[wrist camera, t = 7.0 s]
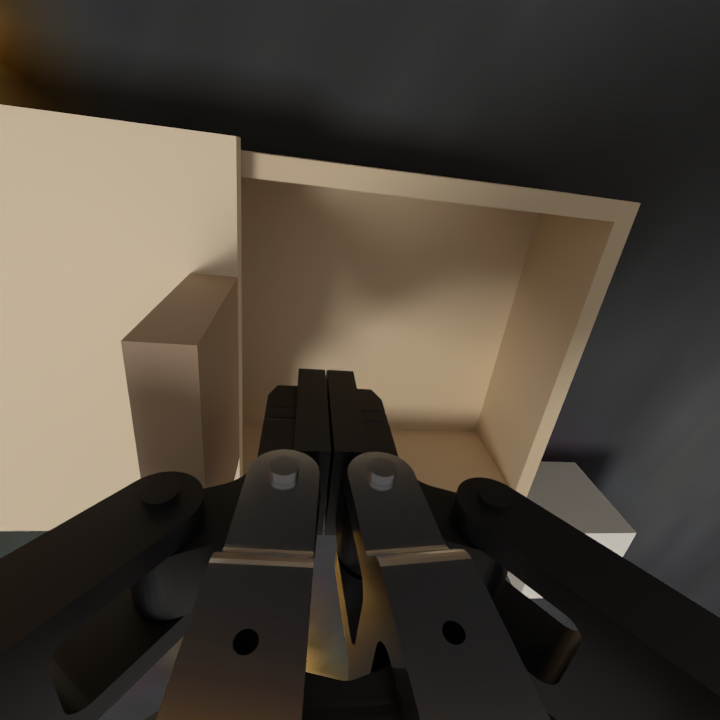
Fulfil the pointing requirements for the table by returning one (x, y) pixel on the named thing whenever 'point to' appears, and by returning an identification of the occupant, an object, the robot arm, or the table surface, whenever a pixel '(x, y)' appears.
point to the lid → (115, 310)
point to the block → (577, 509)
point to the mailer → (424, 303)
